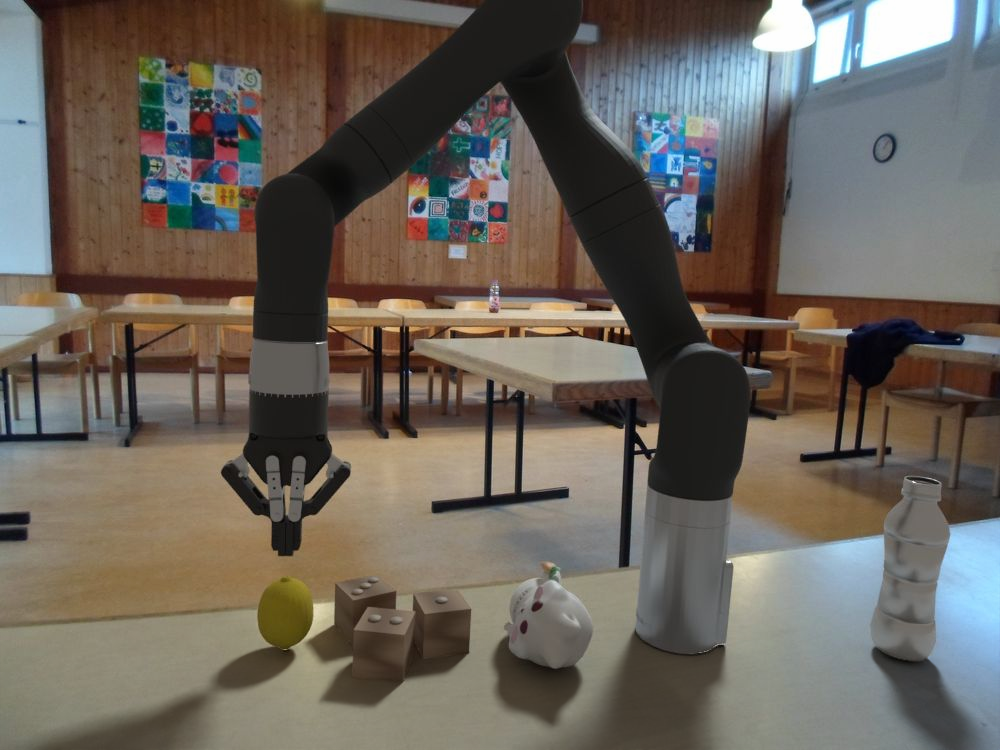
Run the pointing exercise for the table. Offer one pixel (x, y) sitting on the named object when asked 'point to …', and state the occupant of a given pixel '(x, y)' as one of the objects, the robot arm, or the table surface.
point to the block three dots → (360, 601)
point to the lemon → (285, 612)
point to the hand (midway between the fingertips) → (286, 553)
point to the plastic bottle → (911, 572)
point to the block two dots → (383, 644)
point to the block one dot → (441, 623)
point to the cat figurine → (548, 621)
